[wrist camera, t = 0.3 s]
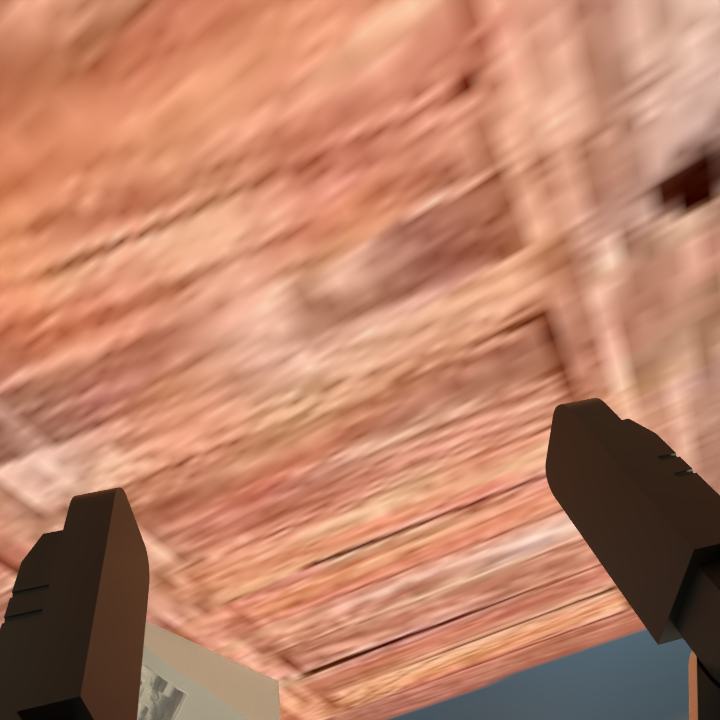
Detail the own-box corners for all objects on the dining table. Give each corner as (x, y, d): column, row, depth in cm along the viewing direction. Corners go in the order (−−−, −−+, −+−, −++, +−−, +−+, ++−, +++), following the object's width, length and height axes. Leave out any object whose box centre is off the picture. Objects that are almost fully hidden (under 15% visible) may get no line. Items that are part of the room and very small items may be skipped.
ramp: (18, 634, 47) (-4, 705, 43) (208, 577, 47) (206, 642, 43) (168, 760, 64) (164, 820, 59) (308, 717, 64) (314, 774, 59)
